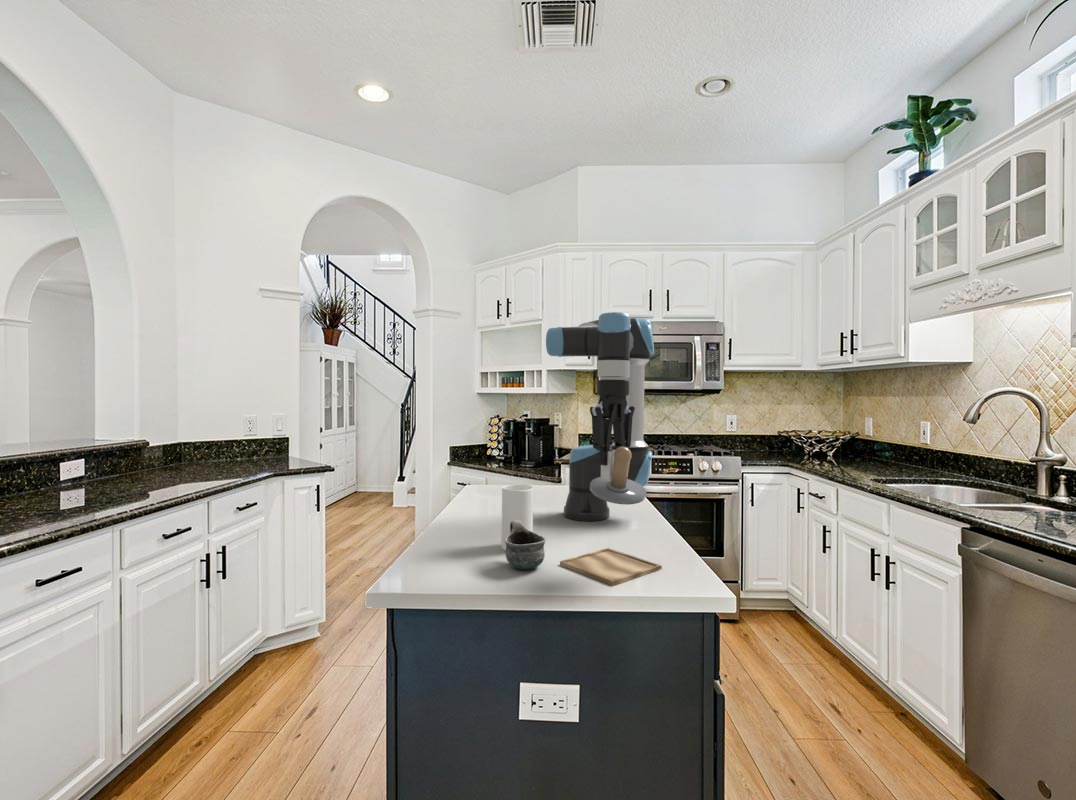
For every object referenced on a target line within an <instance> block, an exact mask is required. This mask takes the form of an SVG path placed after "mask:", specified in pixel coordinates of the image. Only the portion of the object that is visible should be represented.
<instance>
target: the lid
mask: <svg viewBox="0 0 1076 800" xmlns="http://www.w3.org/2000/svg"><path fill="white" fill-rule="evenodd" d="M631 456H632V454H631V451H630V450H629V449H628V448H627V447H623V446H622V447H619V448H617V449H616V450H615V452H614V464H613V471H612V476H611V480H606V479H601V477H598V478H595V479H593V480H592V481H591V483H590V491H591V492H592V493H593V494H594V495H595V496H596V497H598V498H600V499H602V500H604V501H607V503H611V504H617V505H627V506H628V505H635V504H639V503H641V502H643V501H644V500H645V499H646V496H647V495H646V494H647V491H646V488H645V486H644V487H643V486H641V485H640V484H638V483H637V482H635V481H632V480H629V479H627V477H628V470H629V464H630V459H631Z"/></svg>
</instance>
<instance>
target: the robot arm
mask: <svg viewBox="0 0 1076 800" xmlns="http://www.w3.org/2000/svg"><path fill="white" fill-rule="evenodd" d="M652 329H653V327H652V323H651V321H650V320H649V319H648V318H638V317H631V316H630V315H629V313H626V312H614V311H612V312H611V311H610V312H604V313H601V314H600V315H599V316H598V319H596V320H591V321H588V322H583V323H581V324H579V325H578V326H568V327H567V326H564V327H562V326H558V327H549V328H548V329H547V331H546V336H545V349H546V352H547V354H548V355H549V356H550V357H559V358H561V357H597V378H600V379H598V380H597V383H596V388H597V389H596V394H597V395H598V396H599V400H598V403H597V404H596V405H595V406H590V407H589V413H590V415H591V426H592V427H591V428H592V429H591V430H592V431H591V432H592V444H585V445H581V446H580V445H579V446H576V447H573V448H571V450H570V452H569V453H570V454H569V461H568V465H569V470H568V471H569V474H568V475H569V478H568V480H569V481H568V483H569V484H568V486H569V488H568V489H569V490H568V495H567V499H566V502H565V505H564V507H563V516H564V517H565V518H567V519H570V520H575V521H582V522H583V521H584V522H594V521H595V522H596V521H603V520H607V519H608V518H610V507H609V505H608V502H607V501H604V500H602V499H600V498H598V497H596V496H595V495H594V494H593V493H592V492H591V491H590V483H591V481H592V480H593V479H595V478H598V477H601V479H606V480H611V476H612V471H613V464H614V452H615V450H616V449H617V448H619V447H622V446H623V447H627V448H628V449H629V450H630V451H631V454H632V456H631V459H630V464H629V470H628V477H627V479H629V480H632V481H635V482H637V483H638V484H640V485H641V486H643V487H644V488H645V487H646V486H647V485H648V482H649V479H650V473H651V466H652V459H653V452H652V451H651V450H649V445H648V443H646V441H645V440H644V433H645V432H644V429H645V428H644V425H645V424H644V422H645V421H644V419H645V417H644V416H645V414H644V413H645V375H646V374H645V371H646V370H645V369H646V368H645V367H646V366H647V364H648V363H649V362H650V359H651V356H653V355H654V354H655V346H654V337H653V330H652ZM612 431H613V432H612ZM612 433H613V441H614V442H612V443H611V440H612ZM610 446H611V447H610ZM610 448H611V449H610Z"/></svg>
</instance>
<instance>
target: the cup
mask: <svg viewBox="0 0 1076 800" xmlns="http://www.w3.org/2000/svg"><path fill="white" fill-rule="evenodd" d="M501 490H502V491H501V549H502V550H504V551H506V543H505V538H506V536H508V535H509V534H510V523H511V521H513V520H520V521H521V522H522V524H523V525H524V527H525V528H526V529H527V530H529V531H531V532H534V529H533V528H534V486H532V485H528V484H507V485H503V486H502V487H501Z"/></svg>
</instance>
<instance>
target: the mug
mask: <svg viewBox="0 0 1076 800" xmlns="http://www.w3.org/2000/svg"><path fill="white" fill-rule="evenodd" d="M546 540H547V539H546V538H545V537H544V536H543V535H539V534H538V533H536V532H534V531H533V532H531V531H529V530H527V529H526V528H525V527H524V525H523V524H522V522H521V521H520V520H513V521H511V523H510V534H509V535H508V536H506V538H505V543H506V550H505V558H506V560H507V562H508V564H509V565H510V566H512V567H513V568H515V569H518V570H533V569H535V568H537V567H538V566H540V565H541V564H542V563H543V562H544V559H545V544H546Z"/></svg>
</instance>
